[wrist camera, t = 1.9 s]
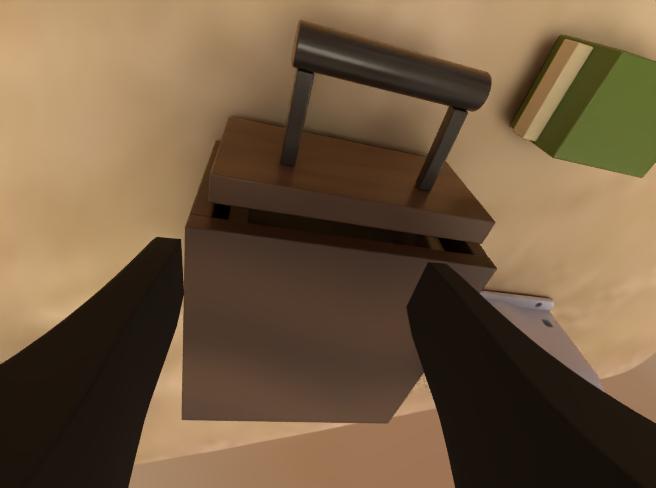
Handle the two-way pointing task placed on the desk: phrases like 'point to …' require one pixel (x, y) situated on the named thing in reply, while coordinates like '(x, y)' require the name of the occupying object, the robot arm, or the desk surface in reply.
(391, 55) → the drawer
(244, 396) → the cabinet
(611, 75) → the green block
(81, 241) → the desk surface
